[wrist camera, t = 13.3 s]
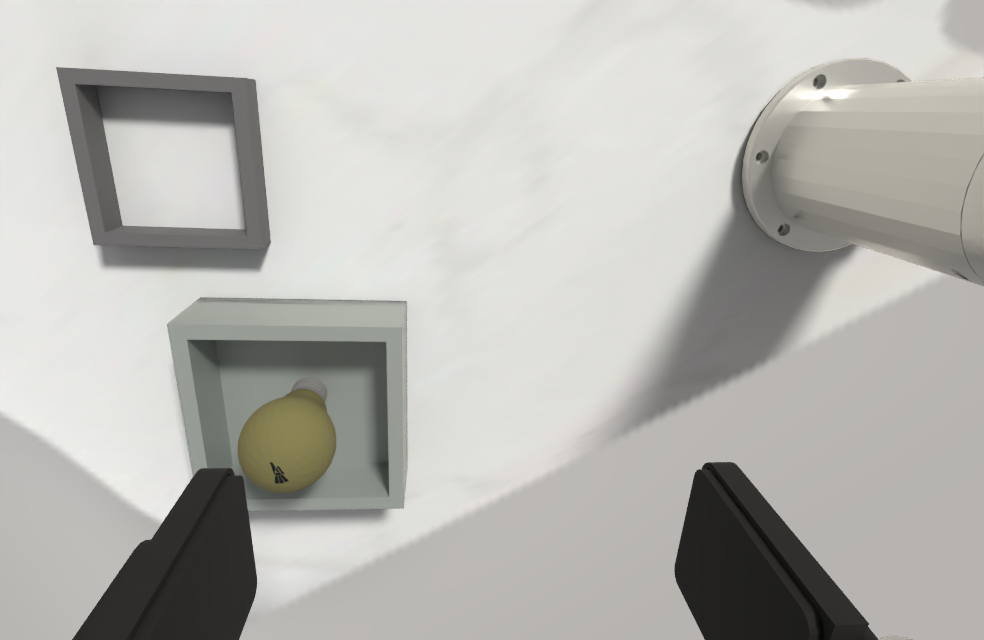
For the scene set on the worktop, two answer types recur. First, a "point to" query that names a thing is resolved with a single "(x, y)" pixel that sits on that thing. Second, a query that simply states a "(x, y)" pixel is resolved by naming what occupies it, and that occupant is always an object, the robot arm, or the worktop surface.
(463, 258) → the worktop surface
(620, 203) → the worktop surface
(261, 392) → the bin
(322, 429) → the light bulb
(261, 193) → the bulb holder
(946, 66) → the worktop surface
